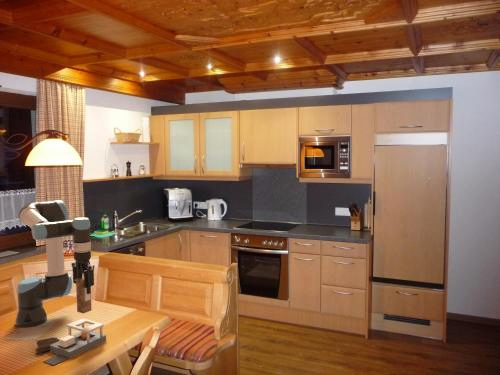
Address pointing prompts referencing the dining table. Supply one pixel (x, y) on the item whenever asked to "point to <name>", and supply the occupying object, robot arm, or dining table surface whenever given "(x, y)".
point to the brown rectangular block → (82, 297)
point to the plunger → (84, 336)
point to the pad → (55, 360)
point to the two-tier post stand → (80, 339)
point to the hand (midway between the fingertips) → (84, 299)
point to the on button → (67, 341)
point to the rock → (45, 344)
